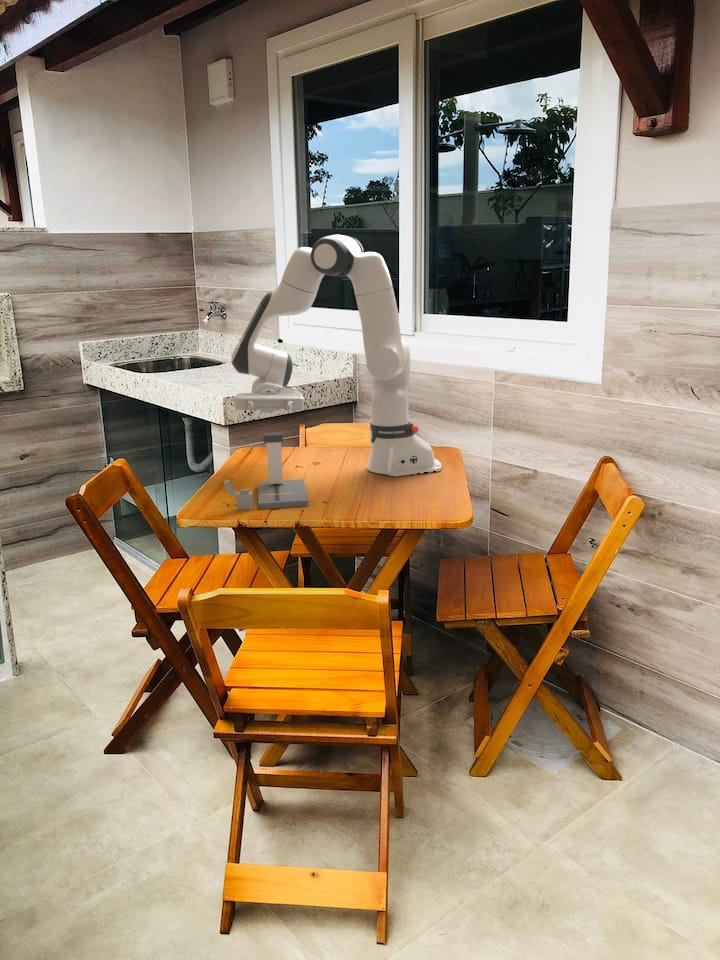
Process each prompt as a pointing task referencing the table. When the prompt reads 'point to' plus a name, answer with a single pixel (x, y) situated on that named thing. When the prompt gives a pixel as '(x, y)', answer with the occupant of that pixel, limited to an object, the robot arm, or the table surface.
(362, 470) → the table surface
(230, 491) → the lighter
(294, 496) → the console
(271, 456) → the grey post
